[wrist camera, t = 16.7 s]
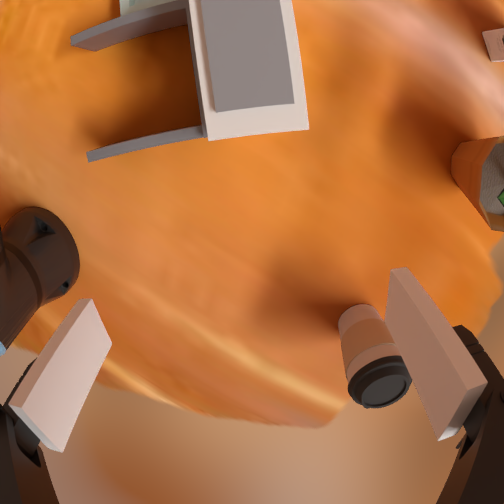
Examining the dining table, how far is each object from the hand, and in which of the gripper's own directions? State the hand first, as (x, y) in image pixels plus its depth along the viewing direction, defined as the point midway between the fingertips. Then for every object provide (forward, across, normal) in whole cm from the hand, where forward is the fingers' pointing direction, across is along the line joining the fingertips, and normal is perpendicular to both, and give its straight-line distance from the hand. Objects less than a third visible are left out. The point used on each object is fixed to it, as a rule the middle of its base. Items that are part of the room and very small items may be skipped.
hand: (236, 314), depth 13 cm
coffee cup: (+27, +14, -24) cm, 39 cm away
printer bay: (+27, -6, +14) cm, 30 cm away
